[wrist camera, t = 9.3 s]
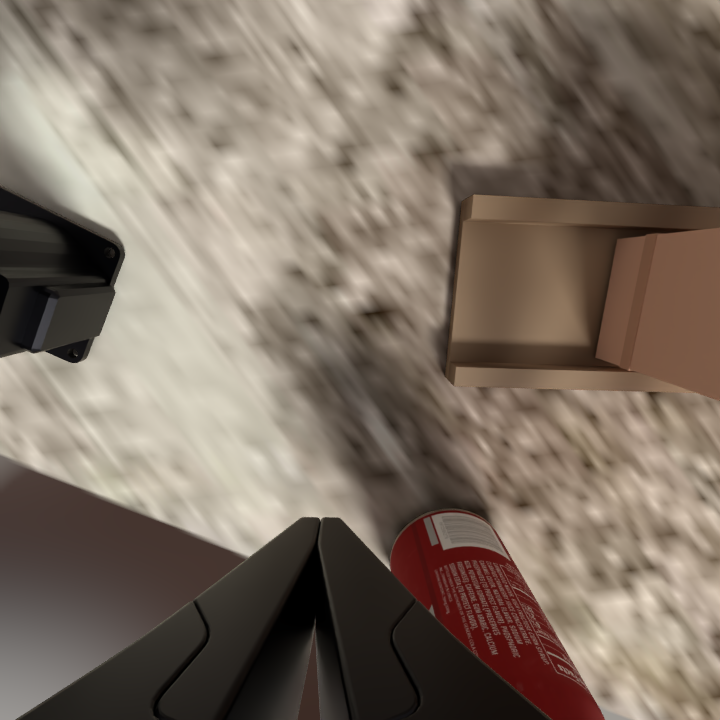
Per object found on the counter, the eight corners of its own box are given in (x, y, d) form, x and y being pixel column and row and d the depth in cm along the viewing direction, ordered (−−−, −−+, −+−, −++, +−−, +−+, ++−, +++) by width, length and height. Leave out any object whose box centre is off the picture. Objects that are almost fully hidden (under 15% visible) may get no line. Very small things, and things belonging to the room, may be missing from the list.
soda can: (420, 484, 22) (504, 715, 11) (517, 525, 23) (690, 779, 12) (369, 573, 24) (395, 866, 12) (463, 609, 25) (570, 913, 13)
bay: (444, 376, 21) (526, 462, 12) (461, 201, 19) (576, 135, 10) (751, 385, 22) (1054, 471, 13) (798, 219, 20) (1203, 174, 11)
